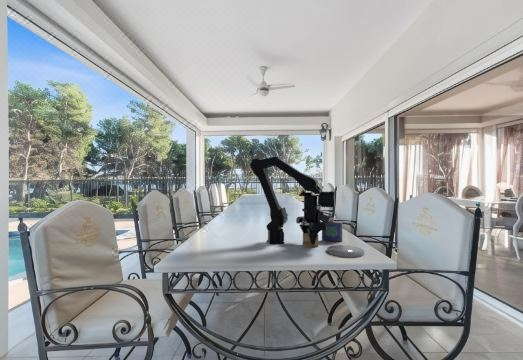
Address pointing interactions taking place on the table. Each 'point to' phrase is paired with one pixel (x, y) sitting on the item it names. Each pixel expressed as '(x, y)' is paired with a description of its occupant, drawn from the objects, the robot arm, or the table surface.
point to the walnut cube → (309, 241)
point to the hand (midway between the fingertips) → (310, 242)
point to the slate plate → (345, 251)
